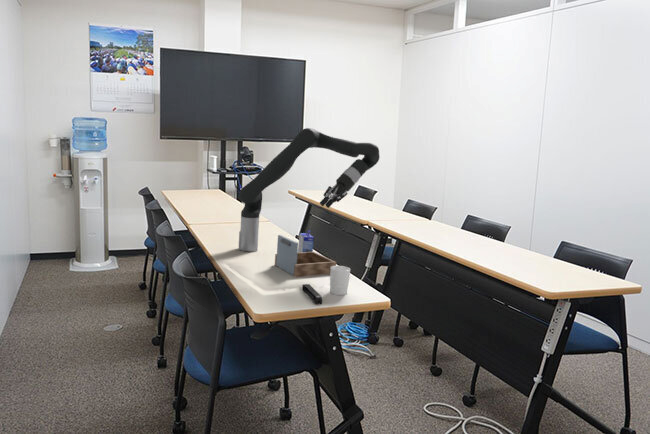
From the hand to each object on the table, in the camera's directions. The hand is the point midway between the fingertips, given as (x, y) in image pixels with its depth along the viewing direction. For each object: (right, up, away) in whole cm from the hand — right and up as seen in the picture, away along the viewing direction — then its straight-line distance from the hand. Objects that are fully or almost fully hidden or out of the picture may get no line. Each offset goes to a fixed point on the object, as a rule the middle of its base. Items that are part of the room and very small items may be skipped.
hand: (324, 205), depth 233 cm
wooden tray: (-9, -30, +1) cm, 31 cm away
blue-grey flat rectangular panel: (-17, -29, -5) cm, 34 cm away
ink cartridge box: (-10, -26, +25) cm, 37 cm away
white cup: (+6, -35, -25) cm, 44 cm away
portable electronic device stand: (-5, -36, -33) cm, 49 cm away
